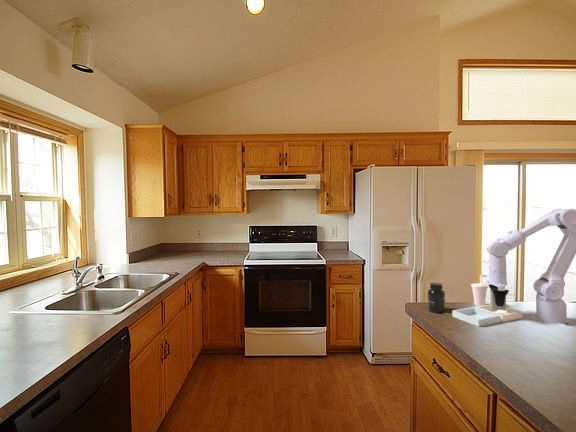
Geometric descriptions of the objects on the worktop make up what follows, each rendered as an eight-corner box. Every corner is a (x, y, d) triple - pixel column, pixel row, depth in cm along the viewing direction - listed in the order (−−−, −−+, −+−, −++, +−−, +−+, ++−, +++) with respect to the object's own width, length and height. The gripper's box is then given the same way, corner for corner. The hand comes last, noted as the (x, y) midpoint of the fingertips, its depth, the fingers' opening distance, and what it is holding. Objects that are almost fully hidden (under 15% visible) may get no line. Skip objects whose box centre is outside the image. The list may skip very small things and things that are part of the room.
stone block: (490, 305, 122) (490, 290, 122) (503, 307, 120) (503, 291, 120) (492, 309, 118) (492, 293, 118) (506, 310, 116) (505, 294, 116)
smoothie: (490, 308, 129) (490, 277, 129) (474, 307, 130) (474, 276, 130) (484, 304, 135) (483, 274, 135) (469, 303, 137) (468, 273, 137)
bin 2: (494, 310, 127) (494, 303, 126) (523, 319, 116) (522, 311, 116) (475, 313, 123) (475, 306, 123) (502, 323, 112) (502, 315, 112)
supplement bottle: (426, 311, 127) (426, 284, 127) (429, 307, 132) (428, 281, 132) (444, 314, 123) (443, 286, 123) (446, 310, 128) (445, 283, 128)
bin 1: (473, 314, 123) (473, 307, 123) (500, 323, 112) (500, 315, 112) (452, 317, 119) (452, 310, 119) (478, 328, 108) (478, 320, 108)
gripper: (483, 267, 127) (484, 298, 127) (488, 273, 114) (489, 308, 115) (503, 268, 124) (503, 300, 124) (511, 275, 111) (511, 310, 111)
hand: (498, 304), depth 119 cm, fingers closed on stone block, 4 cm apart
